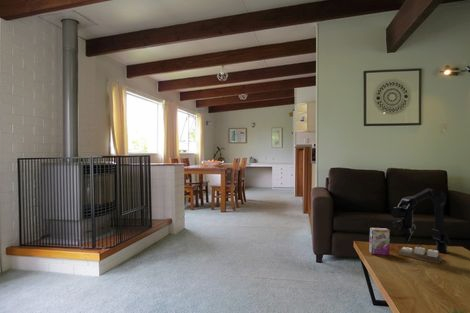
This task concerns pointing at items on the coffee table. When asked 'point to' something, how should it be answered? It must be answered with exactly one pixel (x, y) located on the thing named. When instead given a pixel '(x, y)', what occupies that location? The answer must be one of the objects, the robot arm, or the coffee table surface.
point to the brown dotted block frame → (421, 256)
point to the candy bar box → (379, 241)
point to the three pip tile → (407, 249)
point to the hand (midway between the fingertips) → (407, 241)
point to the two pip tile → (419, 250)
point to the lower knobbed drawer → (432, 253)
